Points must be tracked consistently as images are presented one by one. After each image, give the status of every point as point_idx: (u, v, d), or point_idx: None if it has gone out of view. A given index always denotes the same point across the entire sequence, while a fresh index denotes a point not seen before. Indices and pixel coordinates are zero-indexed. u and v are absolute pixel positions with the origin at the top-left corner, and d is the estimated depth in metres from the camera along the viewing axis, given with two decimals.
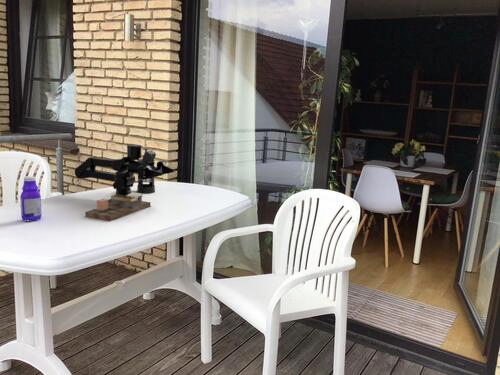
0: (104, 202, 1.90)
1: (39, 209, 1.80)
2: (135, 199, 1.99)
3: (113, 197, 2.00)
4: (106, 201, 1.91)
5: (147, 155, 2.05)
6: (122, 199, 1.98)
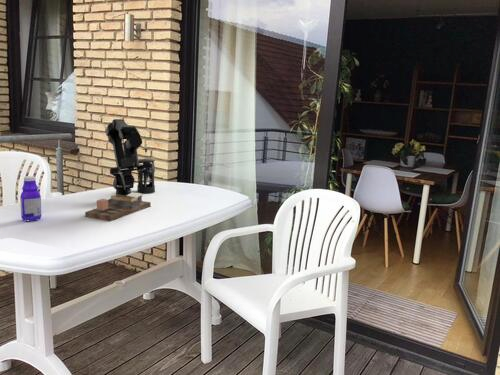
0: (104, 202, 1.90)
1: (39, 209, 1.80)
2: (135, 199, 1.99)
3: (113, 197, 2.00)
4: (106, 201, 1.91)
5: None
6: (122, 199, 1.98)
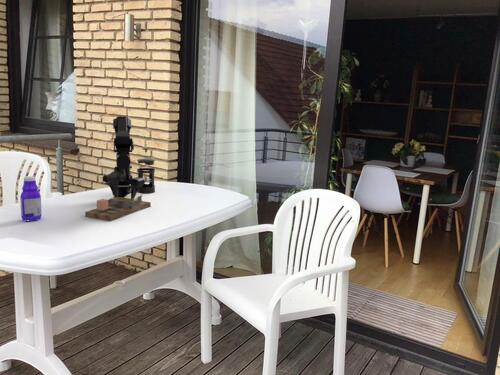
0: (104, 202, 1.90)
1: (39, 209, 1.80)
2: None
3: (113, 199, 2.00)
4: (106, 201, 1.91)
5: None
6: None
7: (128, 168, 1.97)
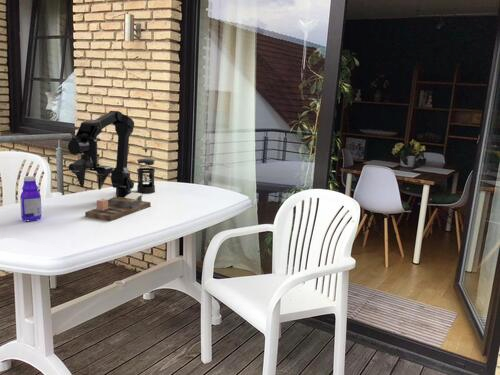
0: (104, 202, 1.90)
1: (39, 209, 1.80)
2: None
3: (113, 199, 2.00)
4: (106, 201, 1.91)
5: None
6: None
7: (95, 156, 1.90)
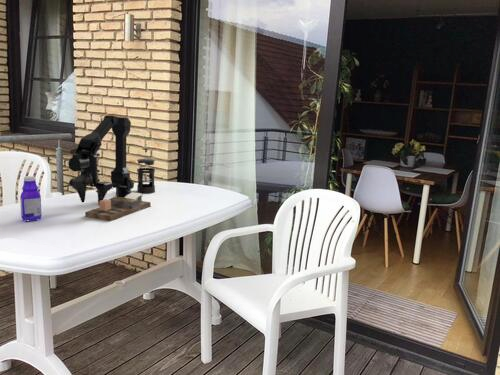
0: (107, 202, 1.90)
1: (39, 209, 1.80)
2: None
3: (113, 199, 2.00)
4: (109, 201, 1.91)
5: None
6: None
7: (95, 172, 1.90)
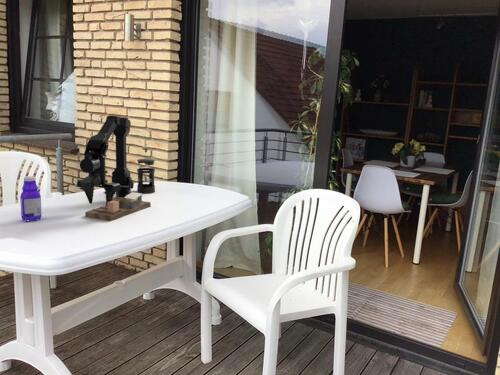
0: (115, 204, 1.88)
1: (39, 209, 1.80)
2: None
3: (113, 199, 2.00)
4: (117, 203, 1.89)
5: None
6: None
7: (103, 173, 1.88)
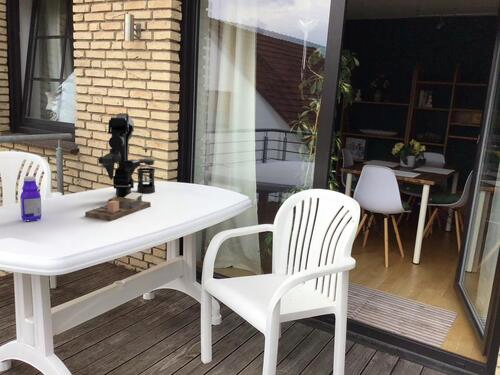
0: (115, 204, 1.88)
1: (39, 209, 1.80)
2: None
3: (113, 199, 2.00)
4: (117, 203, 1.89)
5: None
6: None
7: (123, 150, 1.98)
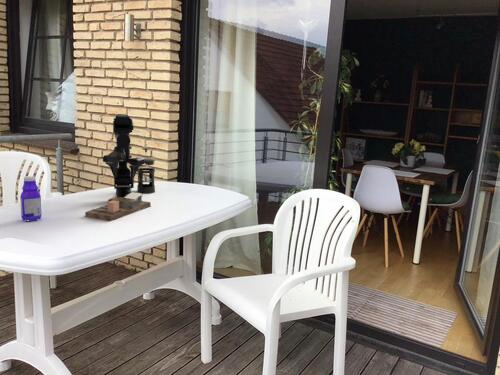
0: (115, 204, 1.88)
1: (39, 209, 1.80)
2: None
3: (113, 199, 2.00)
4: (117, 203, 1.89)
5: None
6: None
7: (128, 148, 2.00)
